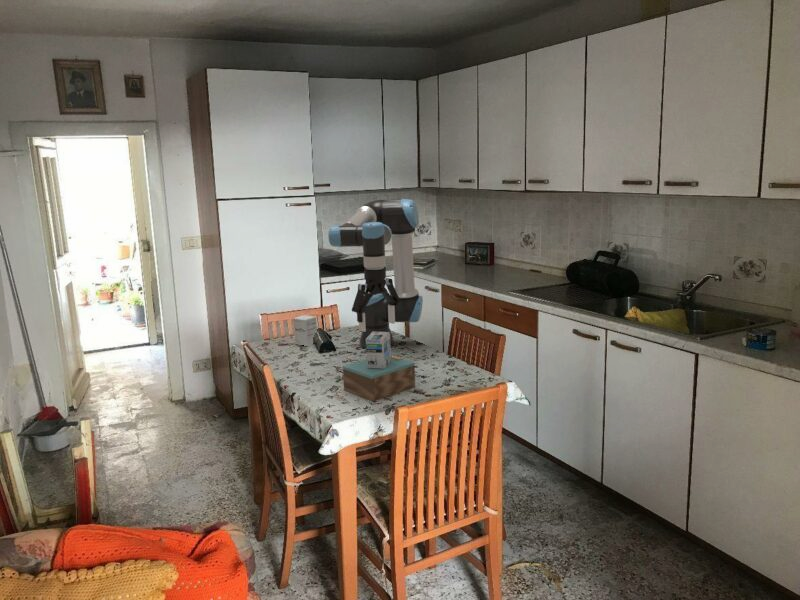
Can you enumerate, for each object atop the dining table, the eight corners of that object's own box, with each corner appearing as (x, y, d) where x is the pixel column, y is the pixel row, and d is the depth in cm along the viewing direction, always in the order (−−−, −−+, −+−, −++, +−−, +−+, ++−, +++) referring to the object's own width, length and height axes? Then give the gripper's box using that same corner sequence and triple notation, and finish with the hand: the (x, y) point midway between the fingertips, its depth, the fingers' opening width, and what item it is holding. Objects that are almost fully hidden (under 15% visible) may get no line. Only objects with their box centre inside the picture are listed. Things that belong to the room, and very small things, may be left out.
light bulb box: (385, 369, 225) (383, 339, 223) (366, 368, 226) (365, 338, 224) (391, 360, 235) (390, 331, 233) (373, 359, 236) (372, 330, 234)
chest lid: (385, 356, 243) (385, 352, 243) (414, 365, 231) (414, 360, 231) (342, 368, 230) (342, 364, 230) (371, 378, 218) (371, 374, 218)
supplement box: (294, 345, 291) (293, 317, 289) (306, 341, 297) (304, 314, 295) (306, 347, 287) (305, 319, 285) (318, 343, 293) (316, 316, 290)
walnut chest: (386, 376, 245) (385, 356, 243) (415, 386, 233) (414, 365, 231) (344, 390, 232) (342, 368, 230) (372, 401, 220) (371, 378, 218)
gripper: (394, 261, 234) (396, 318, 239) (339, 271, 218) (342, 332, 223) (408, 263, 229) (410, 321, 233) (353, 274, 212) (356, 336, 217)
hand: (377, 326), depth 228 cm, fingers open, 13 cm apart
